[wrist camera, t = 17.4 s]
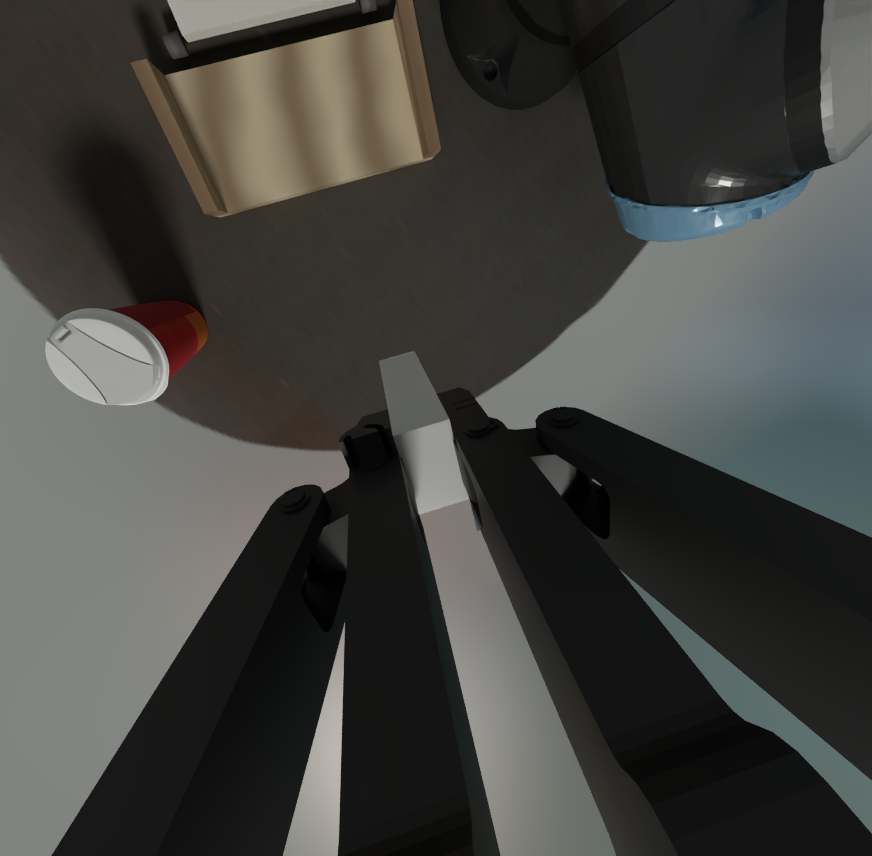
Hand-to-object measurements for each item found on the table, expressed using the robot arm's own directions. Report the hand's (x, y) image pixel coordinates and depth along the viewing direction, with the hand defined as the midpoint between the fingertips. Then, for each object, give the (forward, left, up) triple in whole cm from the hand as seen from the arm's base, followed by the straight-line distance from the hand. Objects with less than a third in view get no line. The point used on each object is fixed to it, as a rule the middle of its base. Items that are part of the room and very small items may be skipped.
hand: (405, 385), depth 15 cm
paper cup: (+21, -3, -31) cm, 37 cm away
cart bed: (+1, -17, -30) cm, 35 cm away
